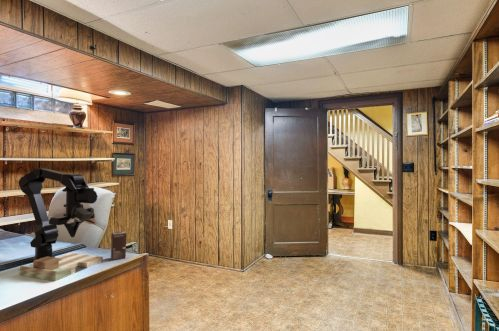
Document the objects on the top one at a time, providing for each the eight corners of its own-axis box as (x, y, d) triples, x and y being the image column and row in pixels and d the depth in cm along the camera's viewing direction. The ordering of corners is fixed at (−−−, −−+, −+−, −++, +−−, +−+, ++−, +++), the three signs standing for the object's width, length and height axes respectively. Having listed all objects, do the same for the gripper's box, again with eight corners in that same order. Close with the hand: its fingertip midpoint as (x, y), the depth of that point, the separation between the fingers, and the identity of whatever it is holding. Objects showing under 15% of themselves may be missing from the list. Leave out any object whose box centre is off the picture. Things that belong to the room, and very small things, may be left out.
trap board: (19, 275, 119) (19, 266, 119) (71, 256, 142) (71, 249, 142) (55, 281, 114) (55, 271, 114) (102, 261, 137) (102, 253, 137)
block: (33, 271, 118) (33, 260, 118) (47, 266, 124) (47, 256, 124) (44, 272, 117) (45, 262, 117) (58, 267, 122) (58, 257, 122)
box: (112, 260, 138) (112, 234, 138) (110, 257, 142) (111, 232, 142) (126, 258, 142) (126, 232, 142) (124, 255, 146) (124, 230, 145)
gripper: (68, 206, 123) (67, 244, 123) (104, 201, 140) (103, 234, 141) (48, 204, 126) (47, 241, 127) (85, 199, 144) (84, 232, 144)
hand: (72, 237), depth 134 cm, fingers closed
